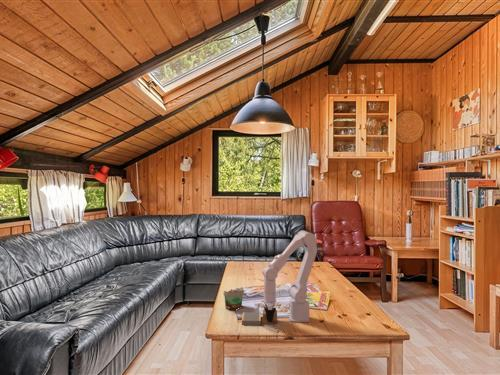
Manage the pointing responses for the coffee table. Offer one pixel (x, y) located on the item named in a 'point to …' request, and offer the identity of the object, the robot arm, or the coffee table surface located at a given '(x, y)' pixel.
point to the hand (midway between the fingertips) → (269, 318)
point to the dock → (251, 318)
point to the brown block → (266, 318)
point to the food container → (233, 299)
